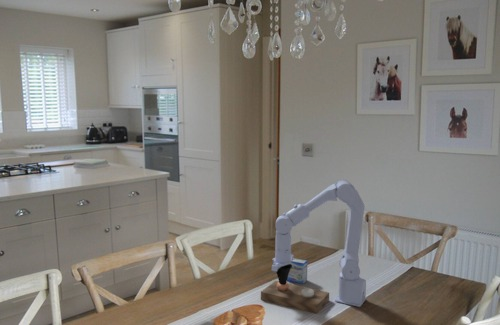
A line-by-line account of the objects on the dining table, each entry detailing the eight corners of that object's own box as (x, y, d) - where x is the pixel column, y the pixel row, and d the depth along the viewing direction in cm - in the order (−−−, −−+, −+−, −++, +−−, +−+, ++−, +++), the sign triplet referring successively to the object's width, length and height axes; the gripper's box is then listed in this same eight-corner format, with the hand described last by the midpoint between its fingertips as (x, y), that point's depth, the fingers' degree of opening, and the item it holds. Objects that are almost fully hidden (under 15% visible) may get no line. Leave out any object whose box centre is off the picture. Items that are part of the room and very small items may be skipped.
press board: (329, 300, 160) (329, 292, 160) (317, 313, 150) (317, 305, 150) (275, 287, 171) (275, 280, 171) (260, 299, 161) (260, 291, 160)
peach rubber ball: (290, 293, 164) (290, 282, 163) (285, 297, 160) (285, 287, 159) (279, 290, 166) (280, 280, 165) (274, 294, 162) (274, 284, 162)
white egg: (315, 300, 159) (315, 290, 158) (310, 305, 155) (311, 294, 154) (304, 298, 161) (304, 287, 160) (299, 302, 157) (299, 292, 157)
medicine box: (285, 280, 178) (285, 260, 177) (289, 276, 182) (289, 256, 181) (303, 284, 175) (303, 263, 174) (307, 280, 179) (307, 260, 178)
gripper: (282, 241, 169) (281, 275, 171) (264, 252, 156) (263, 288, 158) (298, 244, 165) (298, 278, 167) (281, 255, 153) (281, 292, 155)
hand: (282, 283), depth 162 cm, fingers closed, pressing on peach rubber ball
